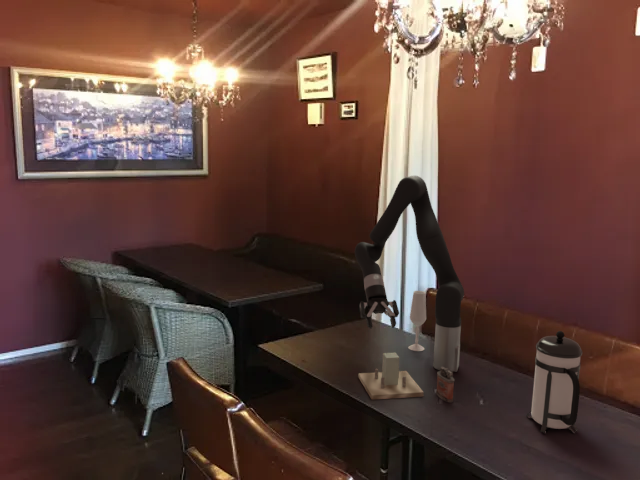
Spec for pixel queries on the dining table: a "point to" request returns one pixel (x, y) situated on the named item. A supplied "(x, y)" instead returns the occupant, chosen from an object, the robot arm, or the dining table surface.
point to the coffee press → (556, 382)
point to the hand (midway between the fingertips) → (382, 327)
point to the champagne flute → (418, 316)
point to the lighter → (445, 384)
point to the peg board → (390, 386)
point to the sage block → (390, 368)
